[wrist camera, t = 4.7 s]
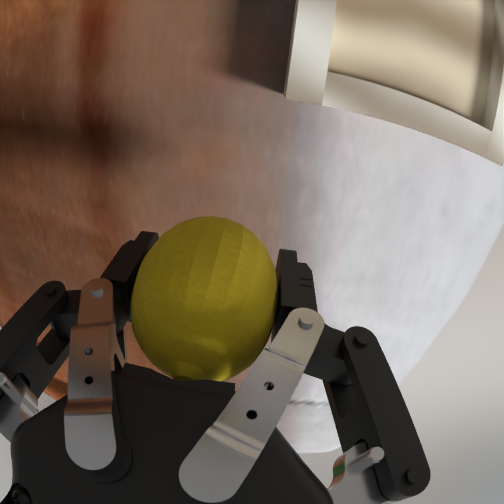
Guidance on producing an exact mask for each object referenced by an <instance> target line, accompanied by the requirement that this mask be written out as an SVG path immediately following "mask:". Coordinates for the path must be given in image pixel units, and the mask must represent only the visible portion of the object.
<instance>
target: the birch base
mask: <svg viewBox="0 0 504 504" xmlns="http://www.w3.org/2000/svg"><path fill="white" fill-rule="evenodd" d="M283 95H284V97H285V99H289V100H295V101H301V102H307V103H313V104H318V105H323V106H328V107H333V108H337V109H342V110H346V111H350V112H355V113H359V114H363V115H366V116H370V117H374V118H378V119H381V120H385V121H388V122H391V123H395V124H398V125H401V126H404V127H408V128H411V129H414V130H417V131H419V132H422V133H425V134H428V135H431V136H433V137H436V138H439V139H441V140H444V141H447V142H449V143H452V144H454V145H457V146H459V147H461V148H464V149H466V150H468V151H471V152H473V153H475V154H477V155H480V156H482V157H484V158H486V159H488V160H490V161H492V162H494V163H496V164H498V165H500V166H502V165H503V161H504V0H296V3H295V11H294V19H293V26H292V34H291V41H290V49H289V56H288V64H287V71H286V78H285V86H284V93H283Z"/></svg>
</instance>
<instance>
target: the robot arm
mask: <svg viewBox="0 0 504 504" xmlns="http://www.w3.org/2000/svg"><path fill="white" fill-rule="evenodd" d="M158 239H159V237H158V234H157V233H155V232H146V231H141V232H140V234H139V235H138V236H137V238H136V239H135V241H133V240H130V241H128V242H127V243H125V244H124V245H122V247H121V248H120V249H119V251H118V252H117V254H116V255H115V256H114V258H113V260H112V261H111V262H110V264H109V265H108V267H107V268H106V270H105V271H104V273H103V274H102V276H101V277H100V278H96V279H93V280H90V281H88V282H87V283H86V284H85V285H84V286H83V288H82V290H70V291H66V289H65V286H64V284H63V283H62V282H60V281H50V282H47V283H45V284H44V285H42V286H41V287H40V288H39V289H38V290H37V291H36V292H35V293H34V294H33V295H32V296H31V297H30V298H29V299H28V300H27V301H26V303H25V304H24V305H23V306H22V307H21V308H20V309H19V310H18V311H17V312H16V313H15V314H14V315H13V317H12V318H11V319H10V320H9V321H8V322H7V323H6V324H5V326H4V327H3V328H2V329H1V330H0V433H2V435H3V436H4V437H5V438H7V439H8V440H9V441H10V442H11V458H12V468H13V478H12V486H11V489H10V491H9V492H8V494H7V495H6V497H5V498H4V499H3V501H2V502H1V503H0V504H391V503H394V502H397V501H400V500H403V499H406V498H409V497H412V496H415V495H417V494H419V493H421V492H422V491H423V490H424V489H425V488H426V487H427V485H428V483H429V481H430V468H429V465H428V463H427V460H426V457H425V454H424V451H423V448H422V445H421V443H420V440H419V437H418V435H417V432H416V429H415V427H414V424H413V422H412V419H411V416H410V414H409V411H408V409H407V407H406V404H405V402H404V399H403V397H402V394H401V392H400V390H399V387H398V385H397V383H396V380H395V378H394V376H393V373H392V371H391V369H390V367H389V364H388V362H387V360H386V358H385V355H384V353H383V351H382V349H381V347H380V345H379V342H378V340H377V338H376V337H375V335H374V334H373V333H372V332H371V331H370V330H368V329H366V328H364V327H359V326H355V327H351V328H349V329H347V330H346V332H342V331H339V330H337V329H334V328H331V327H329V326H328V325H326V324H325V323H324V320H323V318H322V317H321V315H320V314H319V313H318V312H317V304H316V296H315V289H314V282H313V275H312V271H311V269H310V268H309V266H308V265H307V264H306V263H299V262H297V252H296V251H293V250H286V249H280V250H279V254H278V259H277V264H276V269H275V271H276V277H277V285H278V306H277V312H276V316H275V320H274V324H273V328H272V335H271V345H270V347H269V348H268V349H267V348H265V349H264V350H263V352H262V353H261V355H260V356H259V358H258V359H257V361H256V362H255V364H254V366H253V367H252V369H251V370H250V372H249V373H248V375H247V376H246V378H245V379H244V381H243V382H242V384H241V385H240V387H239V388H238V390H237V391H234V390H235V383H229V382H222V381H215V380H208V379H203V380H182V381H177V380H174V379H171V378H169V377H167V376H165V375H163V374H161V373H158V372H156V371H154V370H152V369H150V368H146V367H141V366H137V365H133V364H129V363H128V359H127V347H126V333H125V328H124V326H125V324H126V322H127V321H129V322H132V320H131V298H132V292H133V288H134V284H135V281H136V277H137V274H138V271H139V268H140V265H141V263H142V261H143V259H144V258H145V256H146V254H147V253H148V252H149V250H150V249H151V248H152V247H153V245H154V244H155V243H156V241H157V240H158ZM49 324H50V325H51V327H52V329H51V330H50V331H49V332H48V334H47V335H46V336H45V337H44V338H43V340H42V341H41V342H40V343H39V345H38V346H36V341H37V339H38V337H39V336H40V334H41V333H42V332H43V331H44V330H45V328H46V327H47V326H48V325H49ZM68 356H69V363H68V394H67V395H66V396H64V397H63V398H61V399H59V400H58V401H56V402H55V403H53V404H51V405H50V406H48V407H47V408H45V409H43V410H42V411H40V412H39V411H38V409H37V407H38V398H39V397H40V395H41V394H42V392H43V391H44V389H45V388H46V386H47V385H48V384H49V382H50V381H51V379H52V378H53V376H54V375H55V374H56V372H57V371H58V369H59V368H60V367H61V365H62V364H63V363H64V361H65V360H66V358H67V357H68ZM303 373H305V374H308V375H310V376H313V377H316V378H319V379H322V380H323V384H324V387H325V390H326V394H327V397H328V401H329V404H330V408H331V411H332V415H333V418H334V422H335V425H336V429H337V433H338V436H339V440H340V444H341V447H342V451H343V454H342V455H341V456H339V457H338V458H337V460H336V461H335V463H334V466H333V480H332V483H331V485H330V486H329V487H328V488H326V487H325V486H324V485H323V484H322V483H321V481H320V480H319V479H318V478H317V477H316V476H315V475H314V473H313V472H312V471H311V470H310V469H309V467H308V466H307V465H306V464H305V463H304V462H303V460H302V459H301V458H300V456H299V455H298V454H297V453H296V452H295V450H294V449H293V448H292V447H291V445H290V444H289V443H288V442H287V440H286V439H285V438H284V436H283V435H282V434H281V433H280V431H279V430H278V429H277V427H276V425H277V423H278V421H279V420H280V418H281V416H282V414H283V412H284V410H285V408H286V406H287V404H288V403H289V401H290V399H291V397H292V395H293V393H294V391H295V389H296V387H297V385H298V383H299V381H300V379H301V377H302V374H303Z"/></svg>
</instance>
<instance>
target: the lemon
mask: <svg viewBox="0 0 504 504" xmlns="http://www.w3.org/2000/svg"><path fill="white" fill-rule="evenodd" d="M277 306H278V285H277V277H276V271H275V267H274V264H273V262H272V260H271V258H270V256H269V253H268V251H267V249H266V247H265V246H264V245H263V244H262V242H261V241H260V240H259V239H258V238H257V237H256V235H255V234H254V233H252V232H251V231H250V230H248V229H247V228H245V227H244V226H243V225H241V224H239V223H236V222H234V221H232V220H229V219H226V218H220V217H214V216H210V217H196V218H193V219H190V220H187V221H184V222H181V223H179V224H178V225H176V226H175V227H173V228H172V229H170V230H169V231H167V232H166V233H164V234H163V235H162V236H161V237H160V238H159V239H158V240H157V241H156V243H155V244H154V245H153V247H152V248H151V249H150V250H149V252H148V253H147V254H146V256H145V258H144V259H143V261H142V263H141V265H140V268H139V271H138V274H137V277H136V281H135V284H134V288H133V292H132V298H131V320H132V328H133V331H134V335H135V337H136V339H137V341H138V344H139V346H140V348H141V350H142V351H143V353H144V354H145V355H146V356H147V358H148V359H149V360H150V361H151V362H152V364H154V365H155V366H156V367H157V368H158V369H159V370H161V371H162V372H163V373H165V374H167V375H168V376H170V377H172V378H173V379H174V380H177V381H182V380H203V379H208V380H215V381H224V380H227V379H230V378H232V377H234V376H236V375H238V374H239V373H241V372H242V371H244V370H245V369H246V368H248V367H249V366H251V364H252V363H253V362H254V361H255V360H256V359H257V357H258V356H259V355H260V353H261V352H262V350H263V349H264V347H265V345H266V344H267V341H268V339H269V337H270V334H271V331H272V328H273V324H274V320H275V316H276V312H277Z"/></svg>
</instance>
